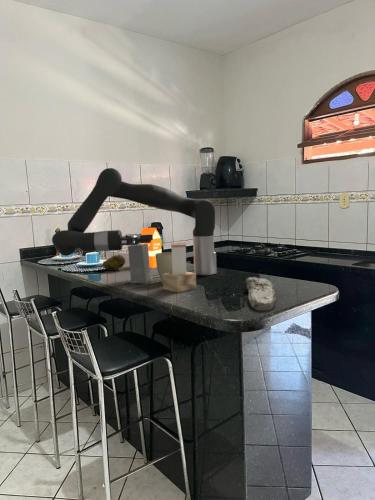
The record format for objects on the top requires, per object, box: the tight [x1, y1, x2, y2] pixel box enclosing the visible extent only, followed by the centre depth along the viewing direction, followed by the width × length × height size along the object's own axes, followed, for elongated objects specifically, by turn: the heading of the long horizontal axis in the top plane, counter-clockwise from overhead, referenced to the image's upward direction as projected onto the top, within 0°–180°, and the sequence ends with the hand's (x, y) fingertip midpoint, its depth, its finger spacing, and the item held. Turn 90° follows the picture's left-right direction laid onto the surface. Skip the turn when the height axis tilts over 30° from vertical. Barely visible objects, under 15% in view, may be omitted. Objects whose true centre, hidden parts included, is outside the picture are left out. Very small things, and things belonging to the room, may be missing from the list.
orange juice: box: [140, 227, 163, 269], centre depth 197 cm, size 8×9×20 cm
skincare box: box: [127, 244, 152, 284], centre depth 160 cm, size 8×7×16 cm
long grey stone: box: [245, 276, 277, 312], centre depth 130 cm, size 35×5×10 cm
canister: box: [170, 242, 187, 275], centre depth 144 cm, size 5×5×11 cm
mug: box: [155, 251, 172, 284], centre depth 157 cm, size 11×10×12 cm
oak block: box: [162, 271, 197, 293], centre depth 145 cm, size 9×9×6 cm
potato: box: [102, 254, 126, 271], centre depth 189 cm, size 8×13×8 cm, turn 37°
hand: (151, 238), depth 143 cm, fingers open, 8 cm apart
